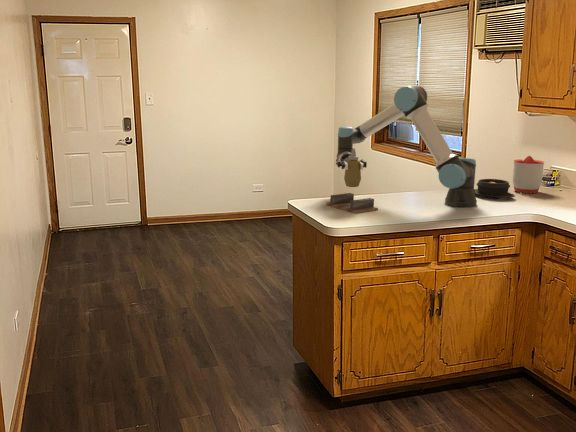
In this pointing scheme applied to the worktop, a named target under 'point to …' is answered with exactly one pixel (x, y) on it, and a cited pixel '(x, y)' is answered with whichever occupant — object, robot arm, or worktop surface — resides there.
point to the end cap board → (347, 208)
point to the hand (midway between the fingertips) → (354, 167)
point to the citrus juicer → (527, 175)
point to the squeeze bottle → (353, 170)
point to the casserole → (493, 188)
